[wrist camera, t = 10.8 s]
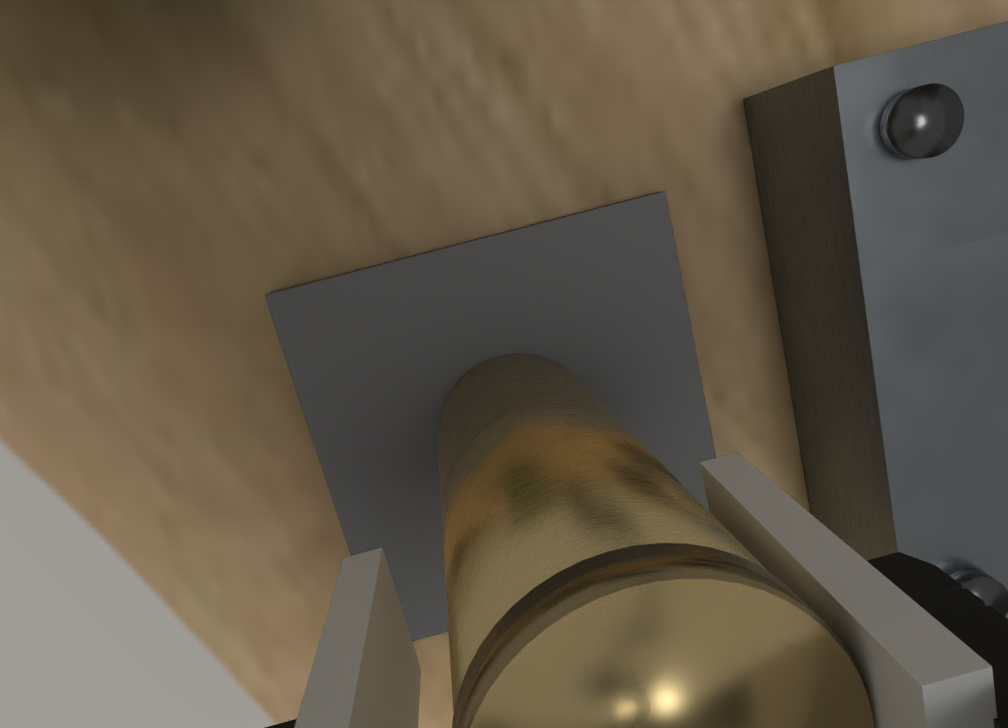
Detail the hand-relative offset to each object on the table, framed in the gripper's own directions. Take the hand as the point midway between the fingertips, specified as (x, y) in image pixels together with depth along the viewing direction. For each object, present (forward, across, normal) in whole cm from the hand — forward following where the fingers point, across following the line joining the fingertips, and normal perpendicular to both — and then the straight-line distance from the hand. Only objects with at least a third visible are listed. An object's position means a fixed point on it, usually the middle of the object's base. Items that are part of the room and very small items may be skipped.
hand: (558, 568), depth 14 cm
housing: (+9, +16, 0) cm, 18 cm away
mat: (+9, 0, 0) cm, 9 cm away
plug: (+8, 0, 0) cm, 8 cm away
